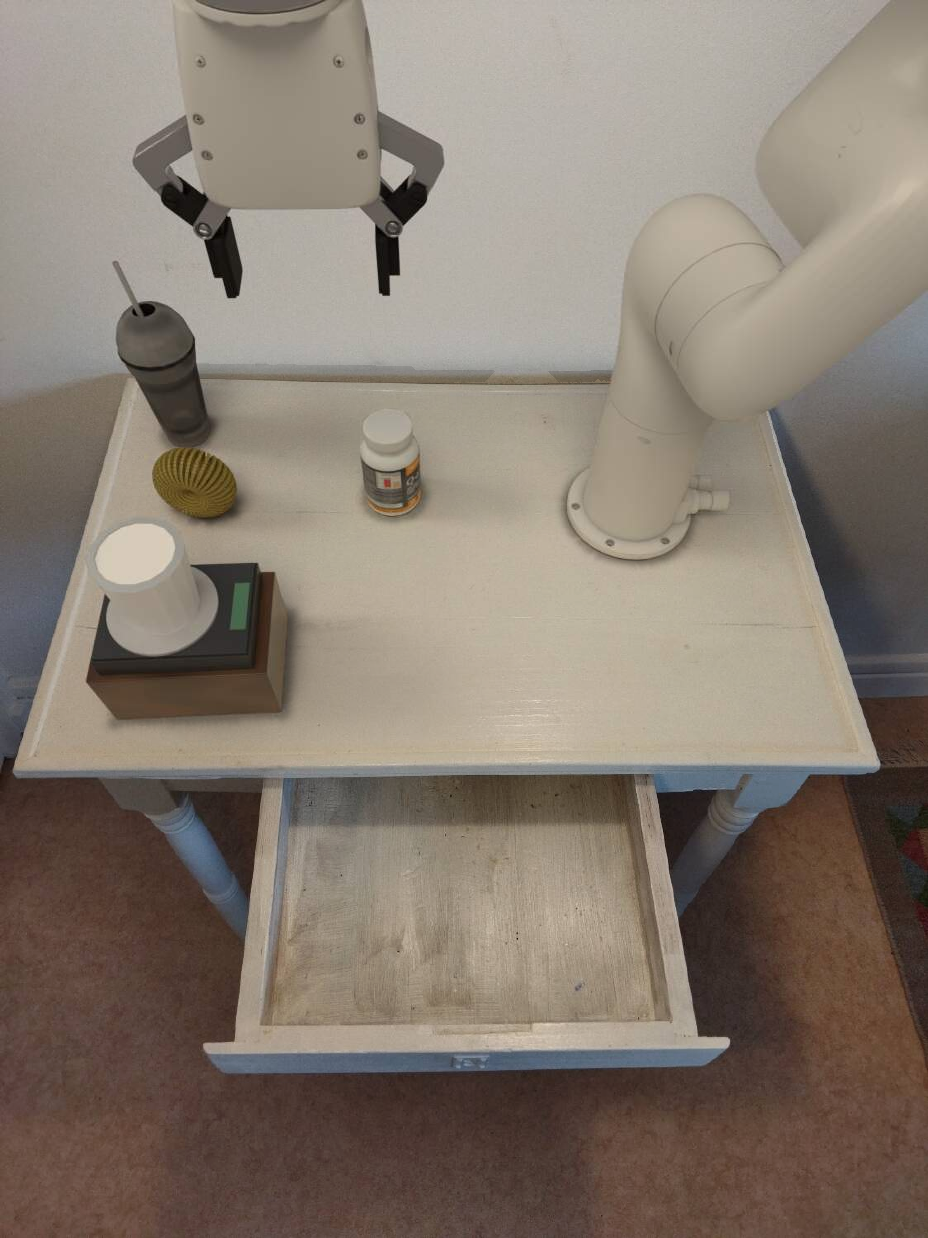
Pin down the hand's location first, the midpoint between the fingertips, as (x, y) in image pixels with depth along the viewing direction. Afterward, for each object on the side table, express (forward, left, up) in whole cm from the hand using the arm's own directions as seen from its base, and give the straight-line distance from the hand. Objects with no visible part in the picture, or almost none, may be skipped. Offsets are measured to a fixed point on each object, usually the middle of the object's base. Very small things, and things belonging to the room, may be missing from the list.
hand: (310, 283), depth 51 cm
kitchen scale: (+13, +11, -23) cm, 29 cm away
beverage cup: (+18, -18, -31) cm, 40 cm away
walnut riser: (+13, +11, -30) cm, 35 cm away
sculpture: (+15, -7, -31) cm, 35 cm away
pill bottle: (-4, -8, -31) cm, 32 cm away
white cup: (+14, +11, -21) cm, 27 cm away
